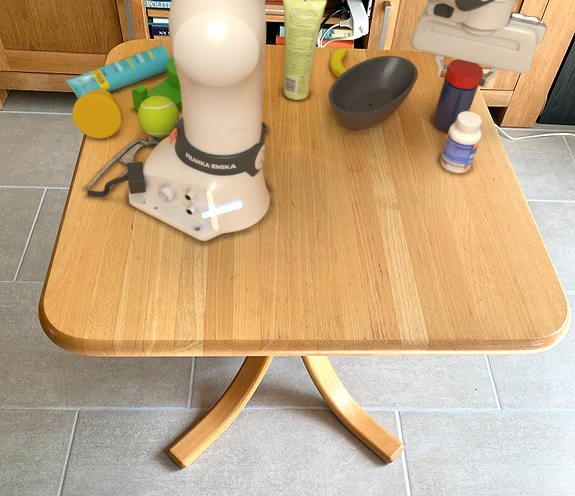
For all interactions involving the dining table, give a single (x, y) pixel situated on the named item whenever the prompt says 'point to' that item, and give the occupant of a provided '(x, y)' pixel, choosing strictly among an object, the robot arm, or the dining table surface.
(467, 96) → the jar
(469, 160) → the pill bottle
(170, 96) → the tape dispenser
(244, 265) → the dining table surface
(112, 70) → the tube
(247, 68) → the robot arm
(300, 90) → the tube
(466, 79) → the lid
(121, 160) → the nutcracker
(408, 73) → the bowl
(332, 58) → the fruit
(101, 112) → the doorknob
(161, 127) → the tennis ball
